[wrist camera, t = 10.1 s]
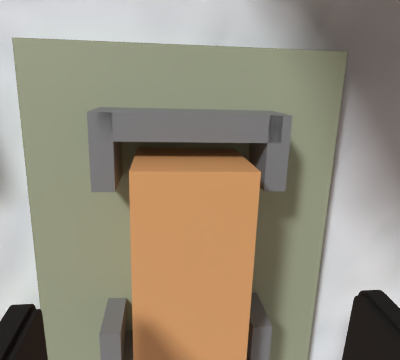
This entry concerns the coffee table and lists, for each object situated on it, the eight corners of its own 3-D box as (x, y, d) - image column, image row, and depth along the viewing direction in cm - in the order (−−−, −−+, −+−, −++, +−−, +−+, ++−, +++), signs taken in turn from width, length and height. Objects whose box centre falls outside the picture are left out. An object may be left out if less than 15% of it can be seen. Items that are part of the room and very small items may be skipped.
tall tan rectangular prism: (137, 147, 18) (128, 171, 13) (234, 148, 18) (261, 171, 13) (140, 318, 20) (134, 390, 15) (225, 314, 21) (244, 383, 16)
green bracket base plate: (24, 41, 17) (-22, 27, 13) (333, 53, 19) (384, 45, 15) (56, 374, 22) (31, 443, 18) (296, 359, 24) (326, 419, 20)
